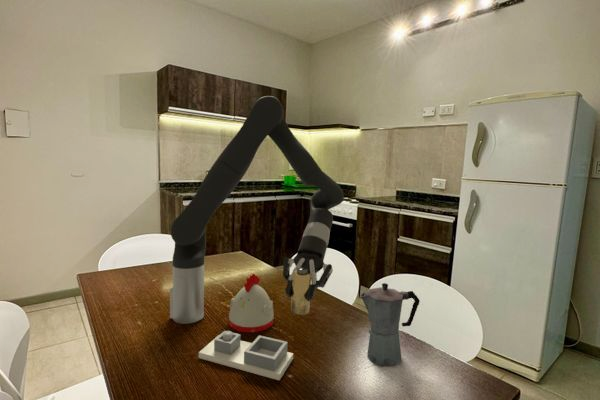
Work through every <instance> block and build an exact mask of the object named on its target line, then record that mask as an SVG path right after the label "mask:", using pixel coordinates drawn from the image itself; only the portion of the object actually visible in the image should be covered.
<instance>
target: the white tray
mask: <svg viewBox="0 0 600 400" xmlns="http://www.w3.org/2000/svg"><path fill="white" fill-rule="evenodd" d="M241 337H242V335H241V334H239V333H237V332H236V333H235V332H233V331H231V330H224V331H222V332H221V334H218V335H217V336H216V337H215V338H213V340H211V341H210V342H209V343H207V344H206V345H205V346H204V347H203V348H202V349H201V350H200V351H198V359H201V360H205V361H208V362H212V363H215V364H219V365H222V366H226V367H230V368H234V369H237V370H241V371H244V372H247V373H252V374H255V375H258V376H262V377H266V378H268V379H269V378H270V379H272V380H277V381H281V378H282V377H283V376H284V374H285V372H286V371H287V369H288V368H289V366H290V364H291V363H292V362H293V359H294V353H293V352H289V351H288V341H285V340H282V339H276V338H272V337H268V336H264V335H261V334H260V335H258V336H257V337H256V338H255V339H254V341H252V342H249V341H244V340H241V339H242V338H241Z"/></svg>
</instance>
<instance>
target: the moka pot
mask: <svg viewBox="0 0 600 400" xmlns="http://www.w3.org/2000/svg"><path fill="white" fill-rule="evenodd" d="M388 287H389V284H388V283H386V282H384V283H383V282H382V283H381V287H376V288H369V289H368V290H367V291H365V292H362V293H361V294H360V295H359V298H360V299H362V301H363V304H364V306H365V308H366V311H367V313H368V322H370V323H369V325H370V329H369V330H368V333H369V337H368V338H369V339H368V345H367V346H368V347H367V354H366V355H367V358H368V360H369V361H371V362H372V363H374V364H376V365H379V366H383V367H390V366H391V367H392V366H393V367H394V366H397V365H398V364H400V363H401V362H402V351H401V343H400V333H399V329H400V321H401V314H402V306H403V301H404V300H406V301H407V300H409V299H413V304H412V308H411V311H410V313H409V317H408V320H407V321H406V322H402V323H401V326H402V327H410V326H411V325H412V322H413V320H414V317H415V316H416V312H417V309H418V307H419V304H420V302H421V301H420V299H419V297H418V296H417V294H415V292H414V291H413V290H411V291H403V290H401V291H399V290H396V289H395V288H388Z"/></svg>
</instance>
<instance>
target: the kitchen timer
mask: <svg viewBox="0 0 600 400" xmlns="http://www.w3.org/2000/svg"><path fill="white" fill-rule="evenodd" d="M260 279H261V278H260V277H259V276H257V275H256V274H254V273H252V275H249V277H247V278H246V283H244V286H243V287H242V288H241V289H240V290H239V291H238V292H237V294H236V295H235V297H232V298H231V299H230V305H229V306H230V310H229V313H228V325H229V326H230V327H231V328H232V330H236V331H238V332H242V333H258V332H261V331H264V330H267V329H270V328H271V326H273V324H274V318H275V317H274V315H275V314H274V313H275V312H274V303H273V302H274V301H273V300H271V298H270V297H269V294H268V293H267V292H266V290H265V289H264V288H263V287H262V286H260V285H259V284H260Z"/></svg>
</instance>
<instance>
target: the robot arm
mask: <svg viewBox="0 0 600 400" xmlns="http://www.w3.org/2000/svg"><path fill="white" fill-rule="evenodd" d="M267 137H269V138H270V139H271V140H272V141H273V143H274V144H275V145H276V146H277V148H278V149H279V150H280V152H281V153H282V154H283V156H284V157H285V159H286V161H287V162H288V164H289V165H290V166H291V168H292V170H293V171H294V172H295V174H296V175H297V177H298V178H299V179H300V181H301V182H302V183H303V184H304V186H306V187H308V188H309V187H313V186H314V187H316V188H317V190H316V191H315V192H314V193H313V194H312V196H311V198H310V206H309V207H310V208H309V209H310V210H309V212H310V213H309V214H310V215H309V218H308V221H307V224H306V226H305V229H304V230H303V234H302V237H301V241H300V243H299V246H298V249H297V253H296V255H295V256H294V258H289V257H286V256H285V257H284V259H283V267H282V268H283V271H282V277H283V279H284V281H285V282H287V284H286V287H285V290H284V291H285V292H284V293H285V294H286V297H287V298H290V299H291V298H292V279H293V272H294V271H297V268H299V267H304V268H307V269H308V272H310V273H311V285H310V287H309V290H308V294H307V301H310V302H311V301H312V300H314V298H315V296H316V291H317V289H318V288H325V287H326V284H327V282H328V280H329V278H330V277H331V275H332V274H333V271H334V270H333V266H332V264H331V263H328V264H326V263H325V262H324V260H325V256H326V252H327V249H328V245H329V242H330V241H329V240H330V236H331V235H330V232H331V230H332V226H333V222H334V216H333V213H332V212H331V211H330V210H331V209H333V208H335V207H337V206H339V205H341V204H342V203H343V201H344V196H345V195H344V191H343V189H342V188H341V186H340V185H339V184H338V183H337V182H336V181H335V180H334V179H332V178H331V177H330V176H329V175H328V174H327V173H325V171H323V170H322V168H321V167H320V166H319V165H318V163H317V161H315V159H314V157H313V156H312V155H311V153H310V152H309V151H308V150H307V149H306V147H304V145H302V143H301V142H300V141H299V140H298V138H296V136H295V135H294V134H293V131H292V130H291V129H290V127H289V126H288V123H287V122H286V119H285V117H284V108H283V105H282V104H281V101H280V100H279V99H278V98H277V97H275V96H272V95H266V96H265V95H264V96H262V97H259V98H258V99H257V100H256V101H255V103H253V106H252V107H251V109H250V111H249V113H248V115H247V117H246V118H245V121H244V122H243V124H242V125H241V127H240V128H239V130H238V131H237V133H236V134H235V136H234V137H233V138H232V139H231V141H229V143H228V144H227V145H226V146H225V148H224V150H223V151H222V152H221V153H220V154H219V155H218V157H217V159H216V160H215V161H214V163H213V165H211V167H210V169H209V170H208V172H207V173H206V175H205V177H204V178H203V180H202V182H201V184H200V186H199V188H198V189H197V191H196V193H195V195H194V196H193V198H192V199H191V201H190V202H189V203H188V204H187V206H185V208H184V209H183V210H182V212H180V214H179V215H178V216H177V217H176V218H175V219H173V221H172V223H171V226H170V236H171V238H172V240H173V242H174V250H173V253H172V254H173V255H172V287H171V288H170V289H169V304H170V305H169V318H170V319H172V320H173V322H175V323H177V324H181V325H182V324H183V325H188V324H193V323H197V322H199V321H201V320H202V319H203V318H204V317H205V316H204V315H205V311H204V310H205V256H206V239H207V238H206V235H207V230H206V229H207V225H208V224H209V222H210V220H211V219H212V217H213V216H214V214H215V212H216V211H217V209H218V208H219V207H220V206H221V205H222V204H223V203H224V202H225V201H226V200H227V198H228V197H229V196H230V195H231V193H232V192H233V191H234V190H235V189H236V188H237V186H238V185H239V183H240V182H241V181H242V178H244V177H245V174H246V173H247V171H248V169H250V166H251V164H252V162H253V160H254V158H255V155H256V153H257V151H258V149H259V148H260V146H261V144H262V143H263V141H264V140H265V139H267ZM293 264H294V265H295V267H294V268H293V269H292V272H290V271H291V270H290V269H291V268H292V267H293ZM321 270H323V273H322V274H321V276H320V278H319V280H318V275H317V273H319V272H320V271H321ZM290 273H291V274H290Z"/></svg>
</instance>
